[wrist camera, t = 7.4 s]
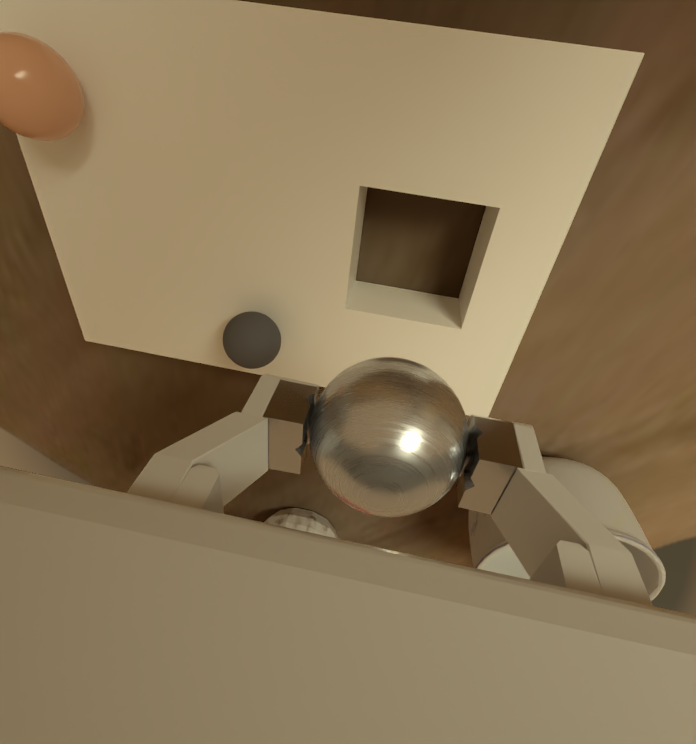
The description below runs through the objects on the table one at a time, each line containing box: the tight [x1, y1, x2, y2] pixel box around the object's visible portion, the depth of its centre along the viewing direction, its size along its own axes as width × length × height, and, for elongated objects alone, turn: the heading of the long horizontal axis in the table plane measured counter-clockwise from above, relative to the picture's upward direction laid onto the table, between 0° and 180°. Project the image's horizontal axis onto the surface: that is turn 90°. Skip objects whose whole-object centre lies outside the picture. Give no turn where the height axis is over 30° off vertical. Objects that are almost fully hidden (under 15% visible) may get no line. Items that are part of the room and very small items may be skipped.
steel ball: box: [309, 357, 469, 517], centre depth 11 cm, size 4×4×4 cm
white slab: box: [0, 0, 645, 417], centre depth 21 cm, size 25×17×4 cm
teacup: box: [469, 457, 665, 601], centre depth 29 cm, size 14×11×8 cm
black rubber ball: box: [223, 311, 281, 369], centre depth 22 cm, size 3×3×3 cm
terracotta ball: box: [0, 32, 84, 141], centre depth 16 cm, size 4×4×4 cm
